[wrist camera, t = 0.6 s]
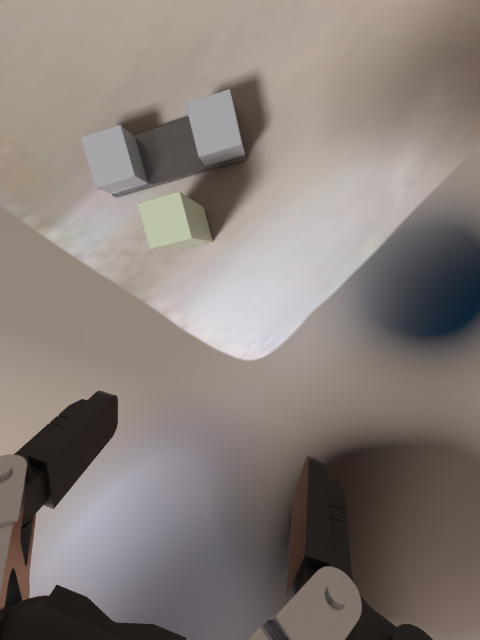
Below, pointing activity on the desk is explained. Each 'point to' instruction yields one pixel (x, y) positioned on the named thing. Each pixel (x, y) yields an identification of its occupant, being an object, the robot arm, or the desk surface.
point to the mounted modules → (123, 154)
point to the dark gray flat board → (170, 155)
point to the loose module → (174, 222)
